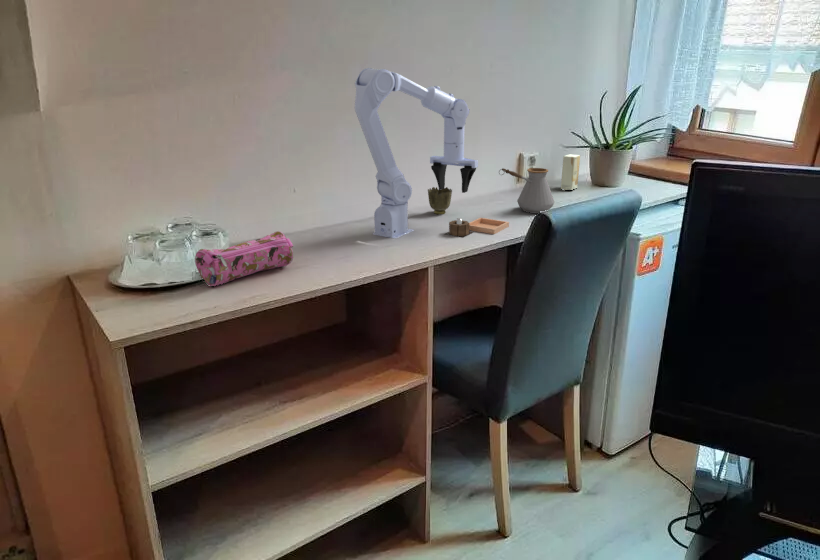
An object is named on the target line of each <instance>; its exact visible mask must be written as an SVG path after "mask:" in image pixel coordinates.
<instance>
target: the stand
mask: <svg viewBox="0 0 820 560" xmlns="http://www.w3.org/2000/svg"><path fill="white" fill-rule="evenodd" d="M456 220H457V224H462V220H463V218H461V217H458V218H456ZM473 233H475V231H469V234H468V235H465V236H454V235H450V233H449V231H448V232H446V233H444V236H452V237H458V238H466V237H468V236H469V235H472V234H473Z"/></svg>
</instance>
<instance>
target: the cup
mask: <svg viewBox="0 0 820 560" xmlns="http://www.w3.org/2000/svg"><path fill="white" fill-rule="evenodd" d="M427 195H428V203H429V206H430V208H431V209H432V210H433V214H435V215H441V216H442V215H446V213H447V212H446V210H448V209H449V208H450V205H451V202H452V195H453V188H452V189H451V188H448V186H447V187H444V189H441V190H439V188H438V186H436V187H434V186H432V188H427Z"/></svg>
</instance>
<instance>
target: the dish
mask: <svg viewBox="0 0 820 560" xmlns="http://www.w3.org/2000/svg"><path fill="white" fill-rule="evenodd" d="M509 227H510V222H509V221H505V220H500V219H499V220H498V219H493V218H492V219H491V218H487V217H486V218H485V217H477V218H476V219H474V220H472V221H470V222H469V231H471V232H478V233H479V232H480V233H485V234H490V235H496V234H498V233H500V232H501V231H503V230H505V229H507V228H509Z"/></svg>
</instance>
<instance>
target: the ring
mask: <svg viewBox="0 0 820 560" xmlns="http://www.w3.org/2000/svg"><path fill="white" fill-rule="evenodd" d="M448 223H449V224H448V232H449V233H450V235H454V236H453V237H456V236H465V235H468V234H469V232H470V230H469V223H470V222H469V221H468V220H463V219H462V224H457V219H456V220H451V221H449V222H448ZM450 235H449V236H450ZM468 236H469V235H468Z"/></svg>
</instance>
